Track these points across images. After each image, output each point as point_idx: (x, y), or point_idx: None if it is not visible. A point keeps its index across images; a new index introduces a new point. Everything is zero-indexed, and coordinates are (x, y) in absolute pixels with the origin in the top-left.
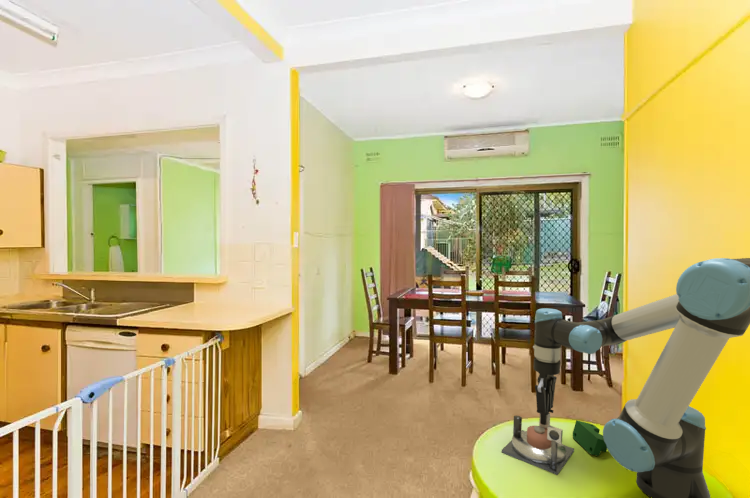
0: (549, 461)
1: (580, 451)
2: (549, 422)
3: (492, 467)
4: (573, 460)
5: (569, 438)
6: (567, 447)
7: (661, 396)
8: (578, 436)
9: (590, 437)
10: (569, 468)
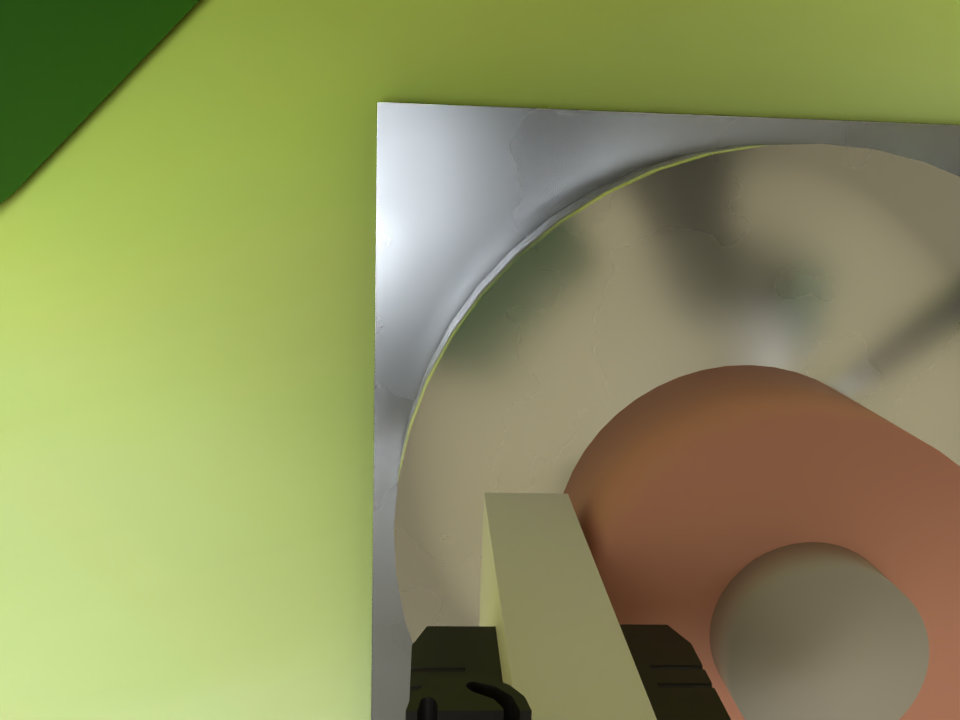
0: None
1: (316, 24)
2: (531, 593)
3: None
4: (647, 50)
5: (32, 255)
6: (413, 194)
7: None
8: (18, 108)
9: None
10: (891, 47)
